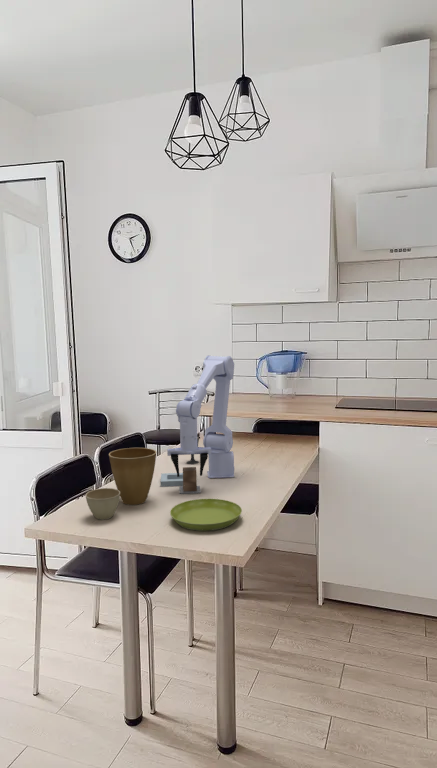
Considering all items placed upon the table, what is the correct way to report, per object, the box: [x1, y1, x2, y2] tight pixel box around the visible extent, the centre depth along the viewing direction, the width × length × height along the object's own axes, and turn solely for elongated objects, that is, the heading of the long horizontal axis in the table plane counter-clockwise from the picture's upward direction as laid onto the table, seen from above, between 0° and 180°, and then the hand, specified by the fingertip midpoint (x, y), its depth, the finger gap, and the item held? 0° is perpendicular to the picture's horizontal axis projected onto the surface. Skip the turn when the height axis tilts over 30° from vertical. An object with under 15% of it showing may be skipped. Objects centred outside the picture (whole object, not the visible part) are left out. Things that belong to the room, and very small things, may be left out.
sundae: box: [186, 432, 201, 465], centre depth 224 cm, size 7×7×15 cm
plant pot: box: [108, 447, 157, 506], centre depth 178 cm, size 15×15×16 cm
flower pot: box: [85, 487, 121, 521], centre depth 165 cm, size 10×10×7 cm
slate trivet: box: [178, 485, 202, 495], centre depth 189 cm, size 7×7×1 cm
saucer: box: [169, 498, 243, 532], centre depth 162 cm, size 21×21×3 cm
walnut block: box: [182, 466, 198, 491], centre depth 189 cm, size 4×4×7 cm
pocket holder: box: [160, 472, 183, 487], centre depth 199 cm, size 10×10×2 cm
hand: (189, 475), depth 189 cm, fingers open, 7 cm apart
